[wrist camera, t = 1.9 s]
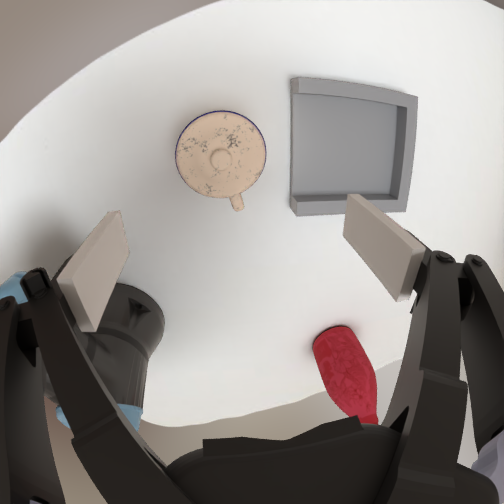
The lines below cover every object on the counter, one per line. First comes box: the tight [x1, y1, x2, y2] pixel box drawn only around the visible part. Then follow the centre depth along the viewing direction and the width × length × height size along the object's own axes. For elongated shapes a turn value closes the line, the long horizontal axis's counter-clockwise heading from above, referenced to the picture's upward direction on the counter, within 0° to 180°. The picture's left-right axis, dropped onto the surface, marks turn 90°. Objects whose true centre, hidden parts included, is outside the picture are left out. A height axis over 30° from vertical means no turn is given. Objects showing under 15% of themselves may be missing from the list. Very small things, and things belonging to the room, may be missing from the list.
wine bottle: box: [313, 327, 378, 425], centre depth 42 cm, size 10×10×30 cm
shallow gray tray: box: [290, 77, 418, 216], centre depth 34 cm, size 18×18×4 cm
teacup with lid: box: [175, 111, 266, 211], centre depth 29 cm, size 12×9×12 cm
